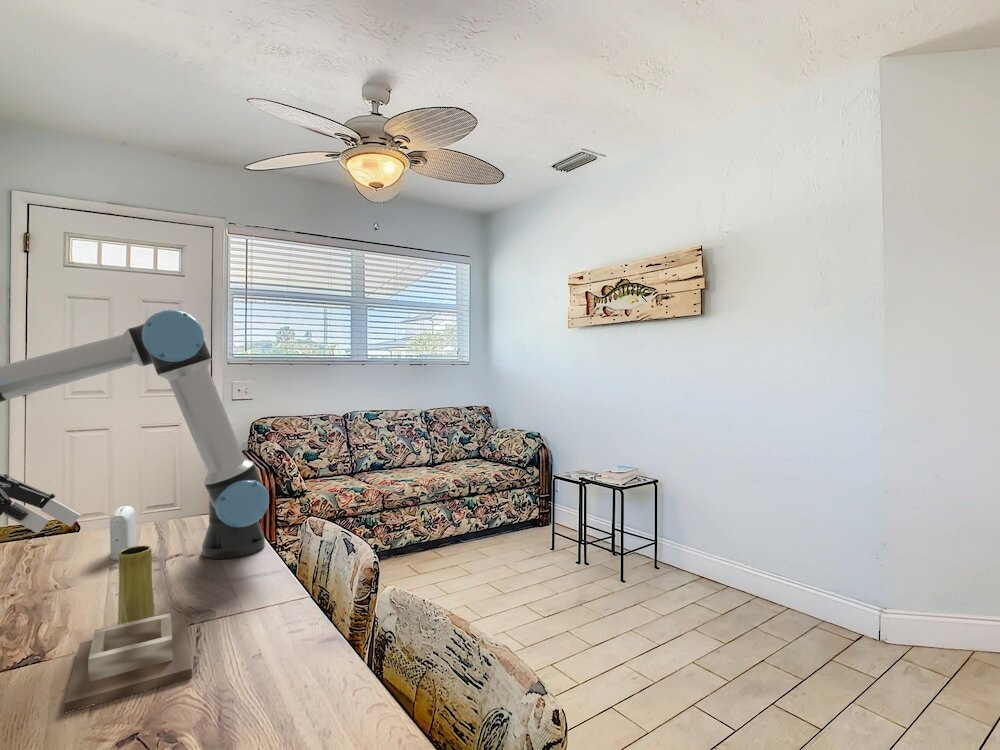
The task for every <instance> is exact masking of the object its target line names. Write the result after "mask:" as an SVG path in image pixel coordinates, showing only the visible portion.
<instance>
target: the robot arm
mask: <svg viewBox="0 0 1000 750" xmlns="http://www.w3.org/2000/svg"><path fill="white" fill-rule="evenodd" d="M209 351H210V350H209V349H208V347H207V343H206V341H205V335H204V329H203V328H202V325H201V324H200V322H199V321H198V320H197V319H196V318H195V317H193V316H192V315H191V314H189V313H188V312H185V311H182V310H177V309H167V310H162V311H158V312H156V313H154V314H152V315H151V316H149V318H147V319H146V321H145V322H144V323H143V324H141V325H137V326H135V327H134V326H133V327H130V328H126V330H125V331H124V333H123V334H121V335H120V334H119V335H117V336H116V335H115V336H113V337H109V338H104V339H101V340H100V339H99V340H96V341H93V342H88V343H85V344H81V345H76V346H73V347H69V348H64V349H62V350H61V349H60V350H57V351H54V352H50V353H46V354H42V355H38V356H34V357H31V358H30V357H29V358H26V359H23V360H19V361H15V362H11V363H7V364H3V365H0V403H2V402H4V401H9V400H12V399H16V398H19V397H22V396H23V397H24V396H26V395H30V394H33V393H37V392H41V391H43V390H48V389H51V388H54V387H58V386H61V385H65V384H69V383H73V382H77V381H81V380H84V379H87V378H90V377H94V376H98V375H100V374H105V373H108V372H112V371H115V370H119V369H122V368H127V367H130V366H133V365H138V366H140V367H145V366H148V365H153V367H154V370H155V371H156V374H157V376H158V377H160V378H162V379H163V378H164V379H166V380H167V381H168V383H169V386H170V388H171V391H172V393H173V394H174V398H175V399H176V402H177V404H178V407H179V409H180V411H181V413H182V416H183V418H184V421H185V423H186V425H187V428H188V430H189V432H190V435H191V437H192V439H193V442H194V445H195V446H196V449H197V451H198V453H199V456H200V459H201V460H202V464H203V465H204V468H205V470H206V473H207V475H206V476H205V478H204V480H203V484H204V487H205V488H206V491H207V493H208V522H209V523H208V527H207V530H206V532H205V535H204V539H203V542H202V546H201V551H202V553H201V554H202V556H203V557H205V558H207V559H214V560H224V559H226V560H227V559H234V557H235V558H240V556H241V557H244V556H248V554H249V555H252V554H254V553H257V552H259V551H260V550H262V549H263V548H264V547H265V544H266V543H265V541H266V540H265V535H264V532H263V530H262V527H261V524H260V519H262V518H263V517H264V515H265V513H266V512H267V510H268V508H269V504H270V495H269V491H268V488H267V487H265V485H264V484H263V482H262V480H261V478H260V474H259V473H258V470H257V465H256V464H255V463H254V461H252V460H249V459H247V458H245V457H244V454H243V451H242V448H241V446H240V444H239V441H238V438H237V436H236V434H235V432H234V430H233V426H232V424H231V422H230V419H229V417H228V415H227V411H226V410H225V407H224V405H223V401H222V399H221V397H220V395H219V392H218V390H217V388H216V387H217V386H216V385H215V381H214V380H213V377H212V374H211V372H210V370H209V365H210V363H211V362H212V356H211V354H210V352H209ZM55 497H56V494H54V493H51V494H50V493H47V492H45V491H43V490H40V489H38V488H36V487H34V486H31V485H29V484H27V483H25V482H22V481H21V480H18V479H16V478H14V477H12V476H9V474H7V473H6V474H1V473H0V517H1V516H2V515H3V516H5V517H7V518H9V519H11V520H13V521H14V522H16V523H18V524H20V525H22V526H23V527H25V528H27V529H29V530H31V531H33V532H34V533H36V534H39V533H41V531H42V530H43V529H44V528H45V527H46V525H47V524H48V523H49V522H50V520H51V519H50V518H48V517H46V516H44V515H42V514H40V513H39V512H37V511H36V510H34V509H31V508H30V507H27V506H26V505H25V504H27V505H31V506H34V507H36V508H39V509H40V511H41V512H43V513H45V514H46V515H48V516H50V517H52V518H53V519H55V520H58V521H59V522H60V523H63V524H65V526H68V527H70V528H71V527H72V526H74V524H75V523H76V522H77V521H78V519H79V518H81V516H82V514H80V513H78V512H77V511H75V510H73V509H72V508H70V507H68V506H66V505H65V504H63V503H61V502H59V501H57V500H55V499H54V498H55ZM12 499H13V500H16V501H14V502H13V500H12ZM18 501H19V502H18ZM24 503H25V504H24ZM251 553H252V554H251Z"/></svg>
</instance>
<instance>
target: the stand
mask: <svg viewBox="0 0 1000 750" xmlns="http://www.w3.org/2000/svg"><path fill="white" fill-rule="evenodd" d="M171 615H172V614H171V613H170V612H169V613H165V614H161V615H155V617H150V618H146V619H141V620H137V621H132V622H128V623H123V624H119V625H117V624H114V625H111V626H105V627H102V628H97V629H94V632H93V636H92V639H91V640H86V641H82V642H79V645H78V650H77V653H76V656H75V661H74V664H73V667H72V671H71V676H70V680H69V683H68V686H67V690H66V693H65V697H64V701H63V714H66V713H65V712H68V713H70V712H69V711H72V710H75V711H78V710H77V709H79V708H82V707H86V706H89V705H92V704H96V705H98V704H97V703H100V704H102V703H101V702H103V703H106V702H105V701H107V702H110V701H109V700H111V701H114V700H117V698H118V699H120V698H125V697H127V696H131V695H136V694H139V693H142V691H143V692H145V691H144V690H146V691H148V690H147V689H150V688H153V689H155V688H154V687H157V688H159V687H158V686H160V687H163V686H162V685H164V686H166V685H165V684H167V685H171V684H173V682H175V683H177V681H178V682H181V681H180V680H182V681H185V680H188V679H189V680H190V679H192V678H193V674H192V673H193V667H192V661H191V659H192V658H191V651H190V643H189V641H190V640H189V636H188V635H189V633H188V627H187V625H188V623H187V619H186V618H182V619H178V620H174V621H172V616H171ZM170 683H171V684H170ZM150 690H151V689H150ZM138 692H139V693H138ZM89 707H90V706H89ZM86 708H87V707H86ZM82 709H83V708H82ZM79 710H80V709H79ZM72 712H73V711H72Z"/></svg>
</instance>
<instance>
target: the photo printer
mask: <svg viewBox="0 0 1000 750" xmlns="http://www.w3.org/2000/svg"><path fill="white" fill-rule="evenodd" d="M136 530H137V529H136V511H135V509H134V508H133V507H132V506H130V505H126V506H125V505H124V506H120V507H118V508H117V509H115V511H114V512H113V514H112V515H111V517H110V520H109V543H110V544H109V545H110V547H109V548H110V560H113V561H119V556H118V553H119V552H120V551H121V550H123V549H126V548H130V547H135V546H137V545H136V544H137V535H136V534H137V531H136Z"/></svg>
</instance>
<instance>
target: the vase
mask: <svg viewBox="0 0 1000 750" xmlns="http://www.w3.org/2000/svg"><path fill="white" fill-rule="evenodd" d="M118 556H119V560H118V601H117V602H118V603H117V605H118V613H117V624H116V625H119V624H123V623H128V622H132V621H137V620H141V619H146V618H150V617H155V616H156V615H155V603H154V602H155V601H154V600H155V599H154V592H153V591H154V590H153V574H152V573H153V568H152V566H153V565H152V564H153V563H152V558H153V557H152V547H151V546H149V545H136V546H135V547H130V548H126V549H123V550H121V551H120V552H119V553H118Z"/></svg>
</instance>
